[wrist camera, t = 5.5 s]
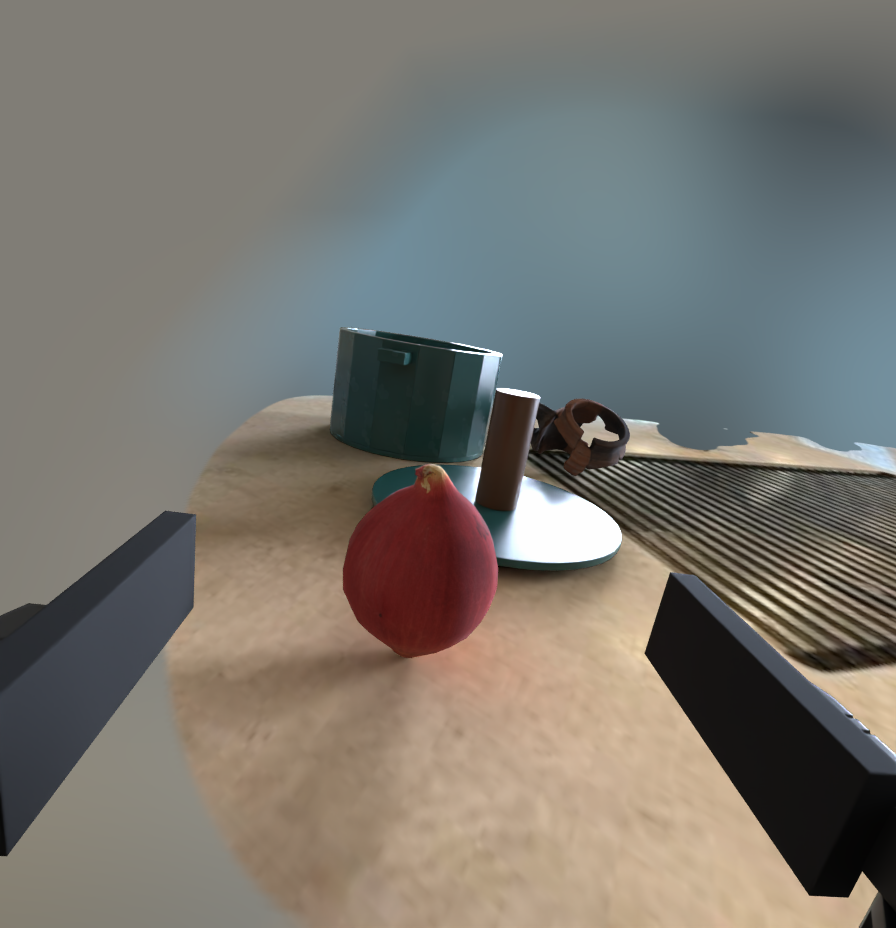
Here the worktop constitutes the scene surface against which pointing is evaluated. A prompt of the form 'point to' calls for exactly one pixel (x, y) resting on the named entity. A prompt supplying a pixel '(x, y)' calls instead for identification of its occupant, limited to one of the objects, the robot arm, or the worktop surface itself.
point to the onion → (421, 567)
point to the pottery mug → (580, 434)
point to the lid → (522, 498)
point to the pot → (412, 396)
